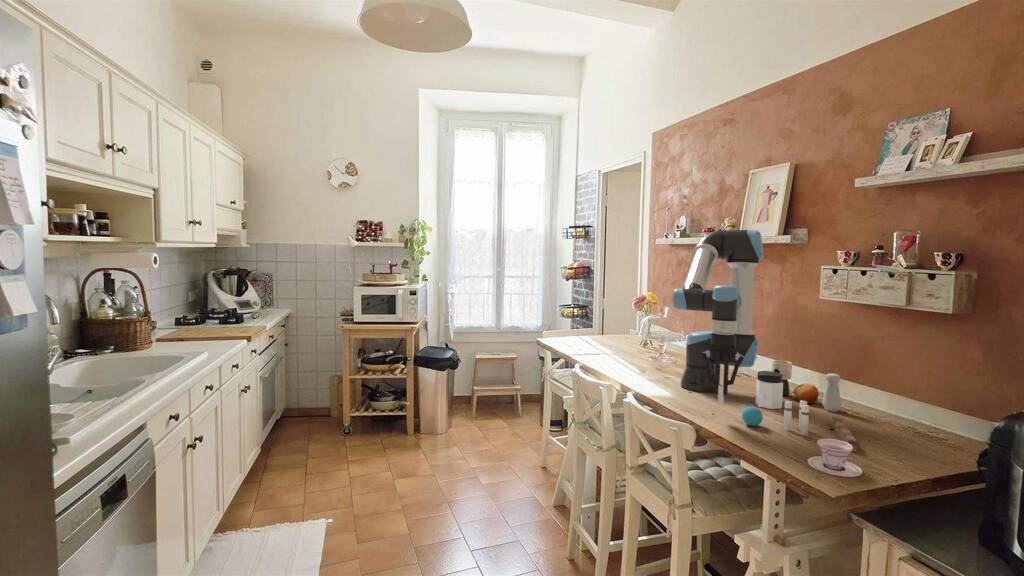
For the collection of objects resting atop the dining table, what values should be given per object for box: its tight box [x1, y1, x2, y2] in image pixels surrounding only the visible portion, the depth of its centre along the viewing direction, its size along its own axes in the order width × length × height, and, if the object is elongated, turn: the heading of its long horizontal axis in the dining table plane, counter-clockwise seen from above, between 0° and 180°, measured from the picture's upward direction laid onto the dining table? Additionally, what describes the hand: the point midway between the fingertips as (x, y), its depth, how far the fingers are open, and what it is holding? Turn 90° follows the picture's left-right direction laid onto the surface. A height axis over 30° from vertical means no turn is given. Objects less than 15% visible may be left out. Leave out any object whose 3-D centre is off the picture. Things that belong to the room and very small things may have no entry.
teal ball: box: [741, 406, 764, 427], centre depth 161 cm, size 6×6×6 cm
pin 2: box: [799, 404, 810, 437], centre depth 153 cm, size 2×2×9 cm
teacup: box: [807, 438, 864, 478], centre depth 130 cm, size 12×12×6 cm
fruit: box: [793, 383, 820, 405], centre depth 188 cm, size 8×8×8 cm
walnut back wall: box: [831, 415, 858, 453], centre depth 151 cm, size 24×2×3 cm, turn 157°
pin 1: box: [798, 401, 808, 431], centre depth 157 cm, size 2×2×9 cm
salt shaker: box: [821, 373, 842, 413], centre depth 178 cm, size 6×6×13 cm
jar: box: [755, 370, 784, 410], centre depth 182 cm, size 9×8×12 cm
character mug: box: [771, 359, 793, 396], centre depth 197 cm, size 11×7×13 cm, turn 3°
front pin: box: [783, 400, 793, 432], centre depth 157 cm, size 2×2×9 cm
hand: (720, 404), depth 165 cm, fingers closed
